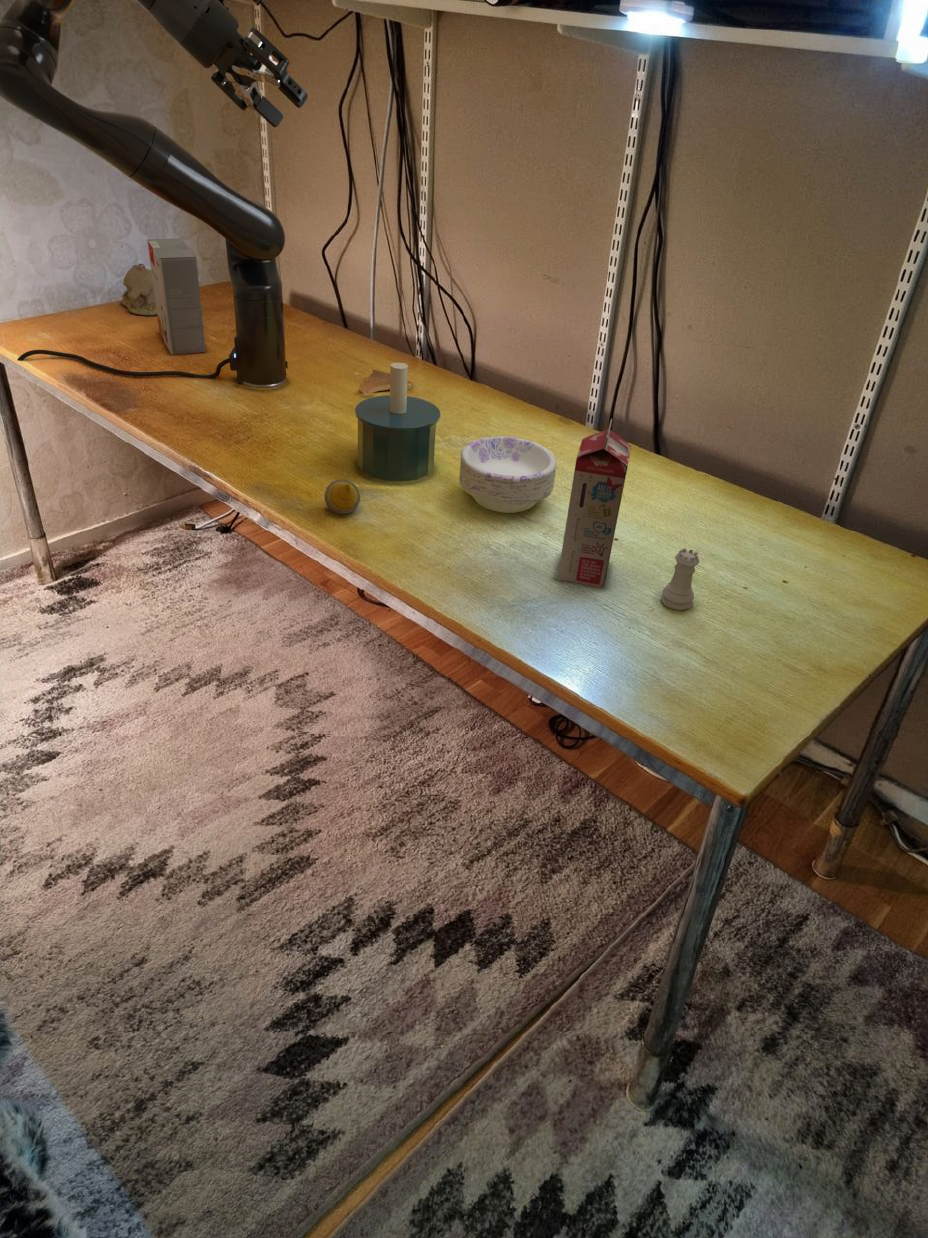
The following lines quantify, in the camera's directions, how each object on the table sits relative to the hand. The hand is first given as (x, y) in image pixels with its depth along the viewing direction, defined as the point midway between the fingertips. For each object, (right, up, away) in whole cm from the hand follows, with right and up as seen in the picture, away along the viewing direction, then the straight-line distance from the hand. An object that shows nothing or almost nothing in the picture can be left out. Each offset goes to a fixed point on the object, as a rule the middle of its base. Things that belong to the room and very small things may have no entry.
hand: (291, 112), depth 125 cm
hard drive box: (-38, -12, +67) cm, 78 cm away
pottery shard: (+9, -26, +53) cm, 60 cm away
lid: (+14, -39, +18) cm, 45 cm away
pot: (+13, -47, +24) cm, 54 cm away
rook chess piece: (+54, -71, -4) cm, 89 cm away
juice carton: (+42, -66, +1) cm, 78 cm away
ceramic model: (-52, +3, +86) cm, 101 cm away
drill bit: (+7, -56, +10) cm, 58 cm away
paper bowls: (+31, -53, +17) cm, 64 cm away
